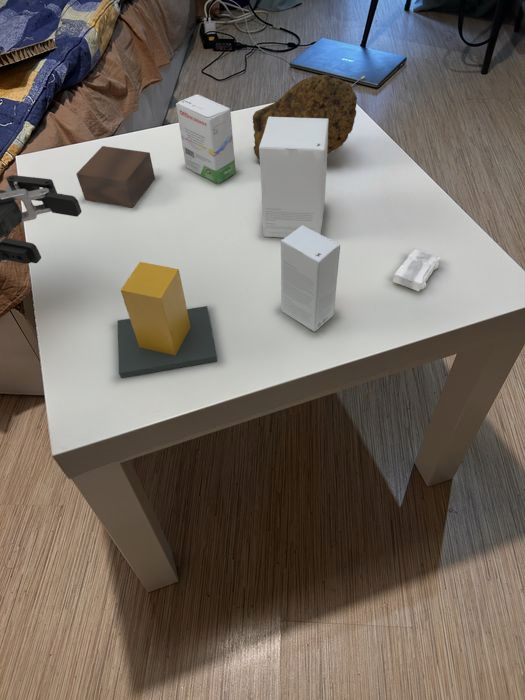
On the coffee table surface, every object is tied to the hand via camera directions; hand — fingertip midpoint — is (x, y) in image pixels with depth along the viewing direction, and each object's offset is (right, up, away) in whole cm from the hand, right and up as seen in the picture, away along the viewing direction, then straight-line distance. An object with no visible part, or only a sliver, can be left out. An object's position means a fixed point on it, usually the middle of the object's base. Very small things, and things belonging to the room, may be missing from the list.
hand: (58, 229), depth 57 cm
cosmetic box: (+28, -8, +13) cm, 32 cm away
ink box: (+13, +19, +36) cm, 43 cm away
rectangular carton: (+27, +7, +26) cm, 38 cm away
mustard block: (+10, -12, +10) cm, 18 cm away
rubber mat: (+10, -12, +10) cm, 19 cm away
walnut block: (-2, +15, +33) cm, 36 cm away
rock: (+30, +22, +39) cm, 54 cm away
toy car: (+44, -3, +17) cm, 48 cm away
